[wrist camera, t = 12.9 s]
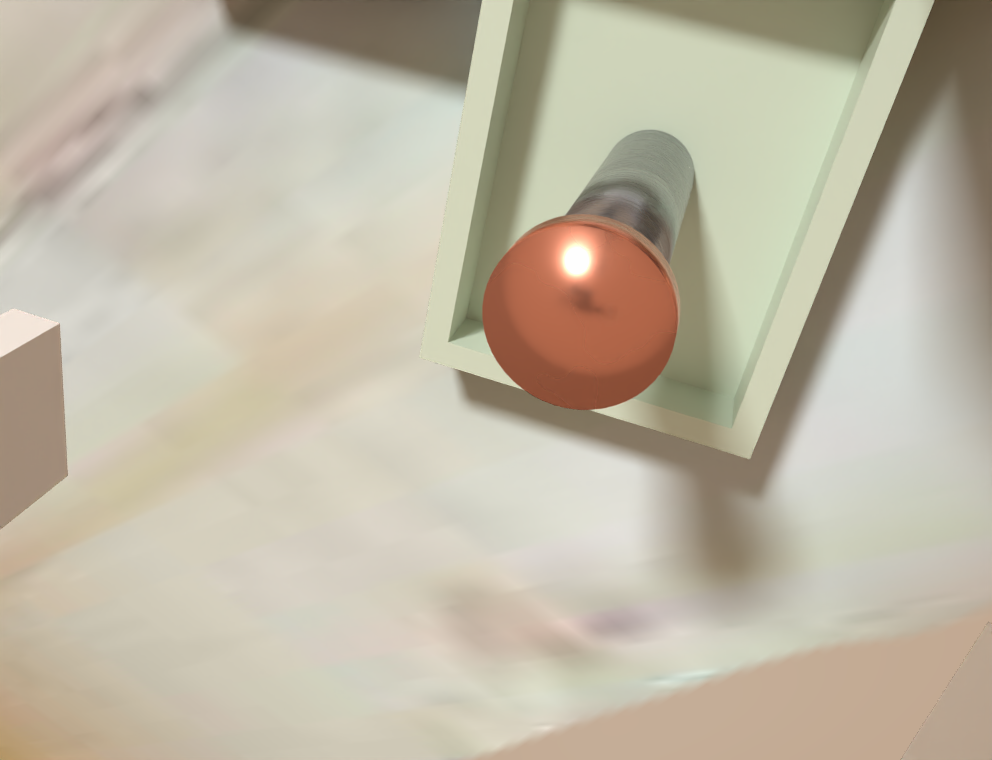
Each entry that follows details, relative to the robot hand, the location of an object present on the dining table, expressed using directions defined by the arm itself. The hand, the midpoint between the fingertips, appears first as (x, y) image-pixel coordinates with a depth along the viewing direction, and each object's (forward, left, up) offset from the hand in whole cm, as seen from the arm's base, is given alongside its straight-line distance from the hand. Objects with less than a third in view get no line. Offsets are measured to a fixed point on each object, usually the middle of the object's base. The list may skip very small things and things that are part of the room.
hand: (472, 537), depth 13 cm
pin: (0, 0, -23) cm, 23 cm away
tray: (0, 0, -23) cm, 23 cm away
